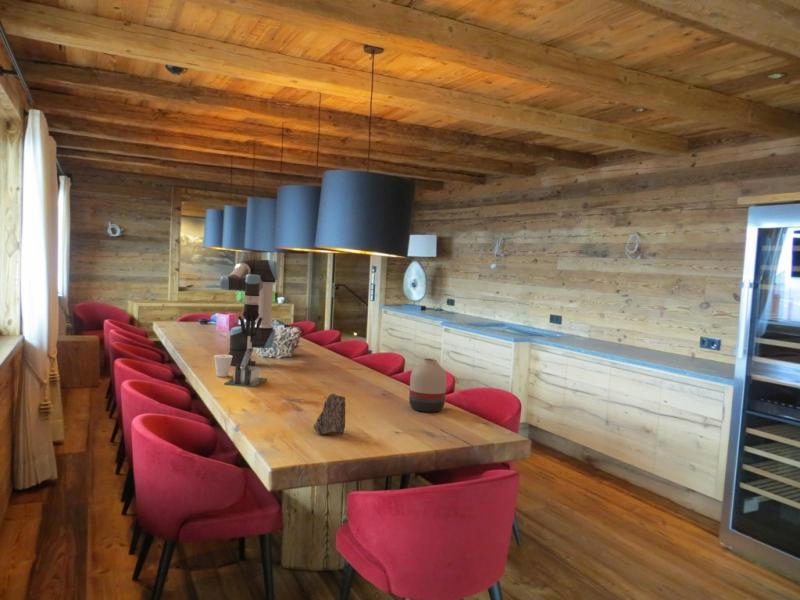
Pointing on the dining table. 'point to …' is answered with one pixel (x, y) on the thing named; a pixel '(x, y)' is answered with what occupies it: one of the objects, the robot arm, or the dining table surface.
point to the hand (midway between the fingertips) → (249, 348)
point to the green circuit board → (246, 376)
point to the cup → (222, 365)
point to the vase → (427, 386)
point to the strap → (246, 359)
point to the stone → (331, 416)
